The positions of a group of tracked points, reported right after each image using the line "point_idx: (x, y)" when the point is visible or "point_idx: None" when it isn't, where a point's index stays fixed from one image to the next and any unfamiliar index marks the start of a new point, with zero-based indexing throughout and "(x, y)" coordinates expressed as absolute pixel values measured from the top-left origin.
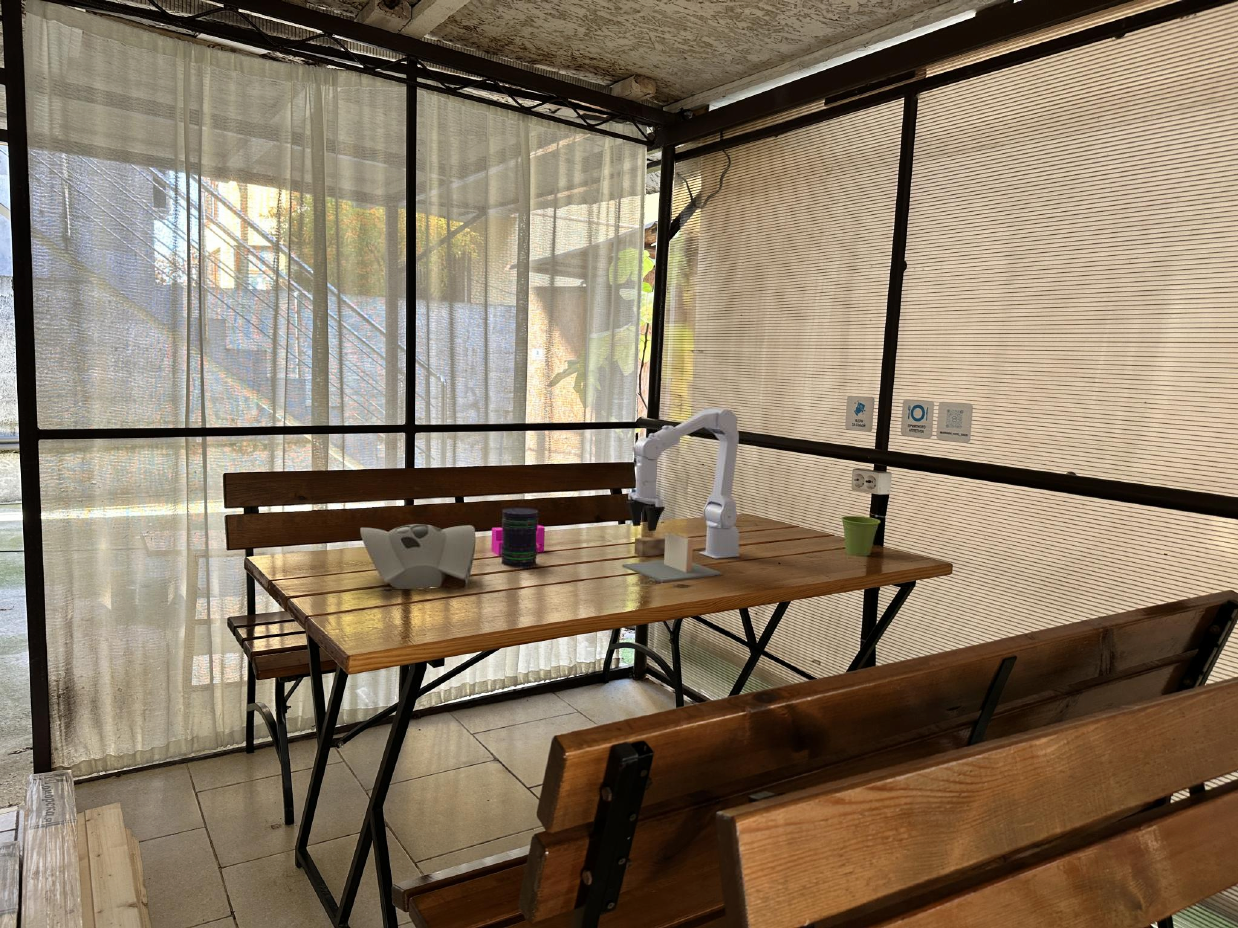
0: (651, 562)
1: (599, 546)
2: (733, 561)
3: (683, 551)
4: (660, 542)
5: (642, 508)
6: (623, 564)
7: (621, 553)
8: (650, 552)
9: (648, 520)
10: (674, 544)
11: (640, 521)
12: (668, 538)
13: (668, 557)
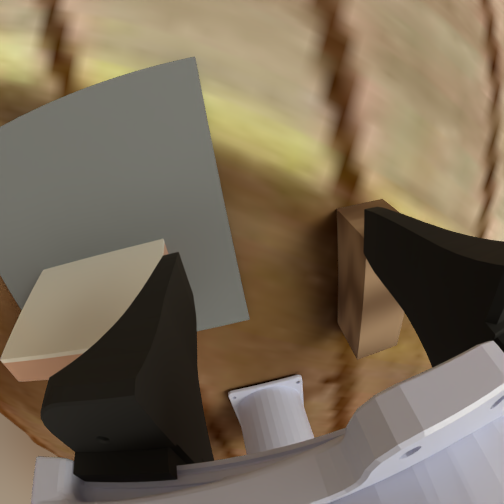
0: (203, 200)
1: (492, 139)
2: (204, 410)
3: (32, 315)
4: (356, 306)
5: (429, 348)
6: (191, 60)
7: (407, 158)
8: (343, 250)
9: (150, 298)
10: (82, 316)
11: (377, 271)
12: None
13: (132, 264)
